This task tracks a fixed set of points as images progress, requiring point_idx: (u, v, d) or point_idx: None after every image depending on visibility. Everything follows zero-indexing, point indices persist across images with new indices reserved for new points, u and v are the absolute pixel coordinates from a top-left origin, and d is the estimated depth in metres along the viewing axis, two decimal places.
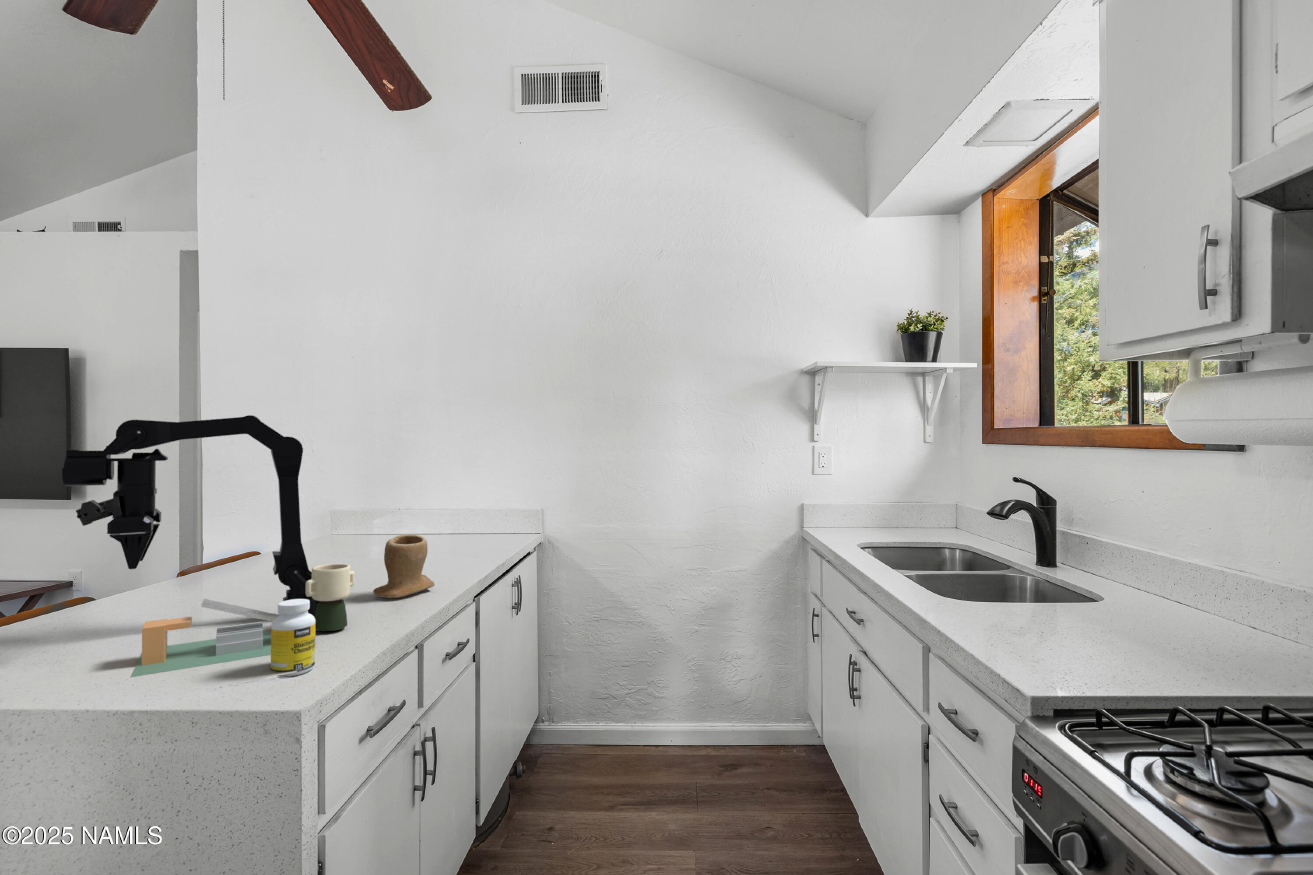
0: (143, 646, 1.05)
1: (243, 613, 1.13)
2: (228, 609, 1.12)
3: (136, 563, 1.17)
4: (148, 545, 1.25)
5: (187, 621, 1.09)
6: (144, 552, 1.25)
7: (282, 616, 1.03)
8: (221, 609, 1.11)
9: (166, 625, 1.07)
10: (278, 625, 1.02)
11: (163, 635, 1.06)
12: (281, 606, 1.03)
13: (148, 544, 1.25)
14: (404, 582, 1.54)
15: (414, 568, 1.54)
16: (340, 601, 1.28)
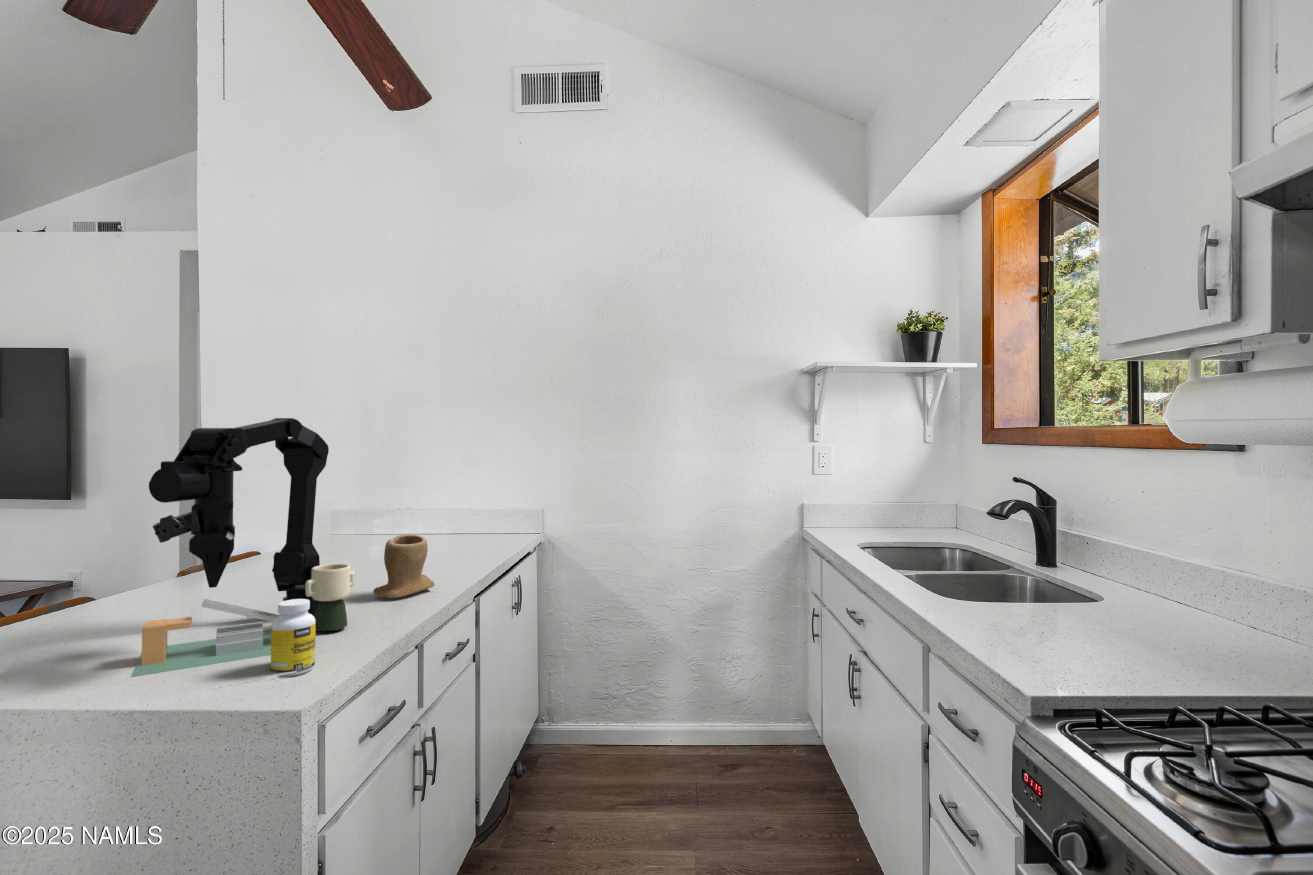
0: (143, 646, 1.05)
1: (243, 613, 1.13)
2: (228, 609, 1.12)
3: (217, 581, 1.10)
4: None
5: (187, 621, 1.09)
6: None
7: (282, 616, 1.03)
8: (221, 609, 1.11)
9: (166, 625, 1.07)
10: (278, 625, 1.02)
11: (163, 635, 1.06)
12: (281, 606, 1.03)
13: None
14: (404, 582, 1.54)
15: (414, 569, 1.54)
16: (340, 601, 1.28)
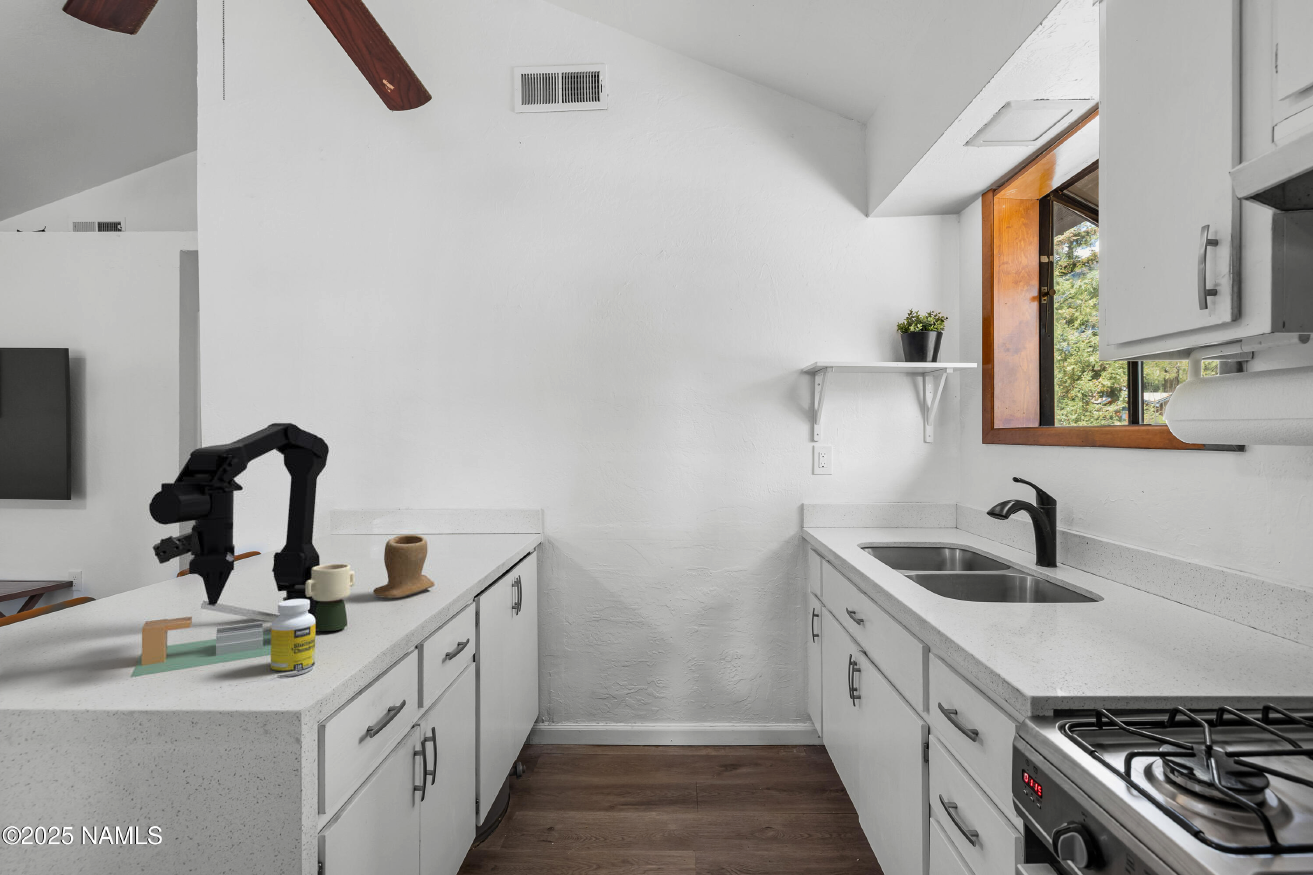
0: (143, 646, 1.05)
1: (243, 614, 1.13)
2: (227, 610, 1.12)
3: (217, 598, 1.12)
4: None
5: (187, 621, 1.09)
6: None
7: (282, 616, 1.03)
8: (220, 610, 1.11)
9: (166, 625, 1.07)
10: (278, 625, 1.02)
11: (163, 635, 1.06)
12: (281, 606, 1.03)
13: None
14: (404, 582, 1.54)
15: (414, 568, 1.54)
16: (340, 601, 1.28)
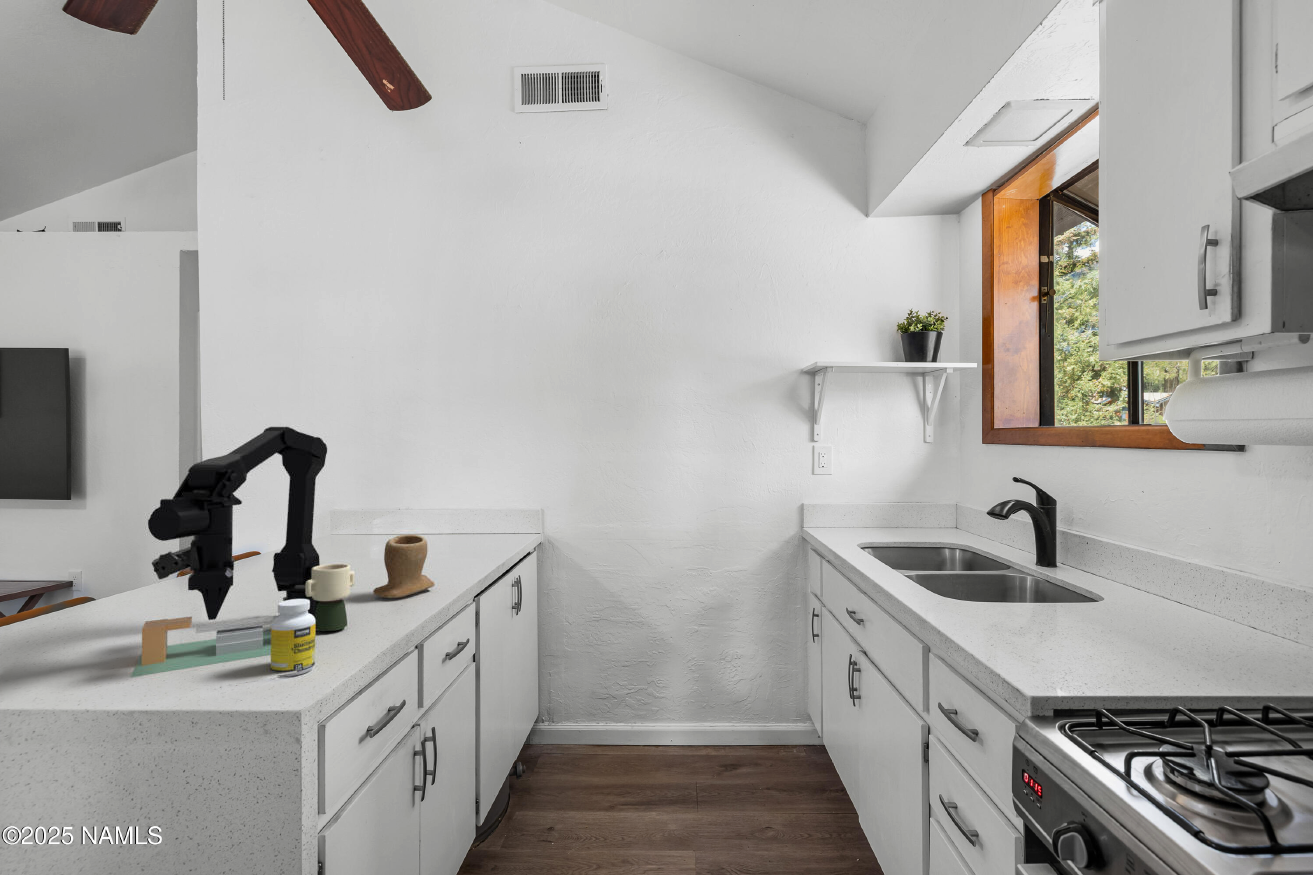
0: (143, 646, 1.05)
1: (240, 626, 1.13)
2: (223, 627, 1.12)
3: (216, 613, 1.12)
4: None
5: (187, 621, 1.09)
6: None
7: (282, 616, 1.03)
8: (216, 629, 1.11)
9: (166, 625, 1.07)
10: (278, 625, 1.02)
11: (163, 635, 1.06)
12: (281, 606, 1.03)
13: None
14: (404, 582, 1.54)
15: (414, 569, 1.54)
16: (340, 601, 1.28)
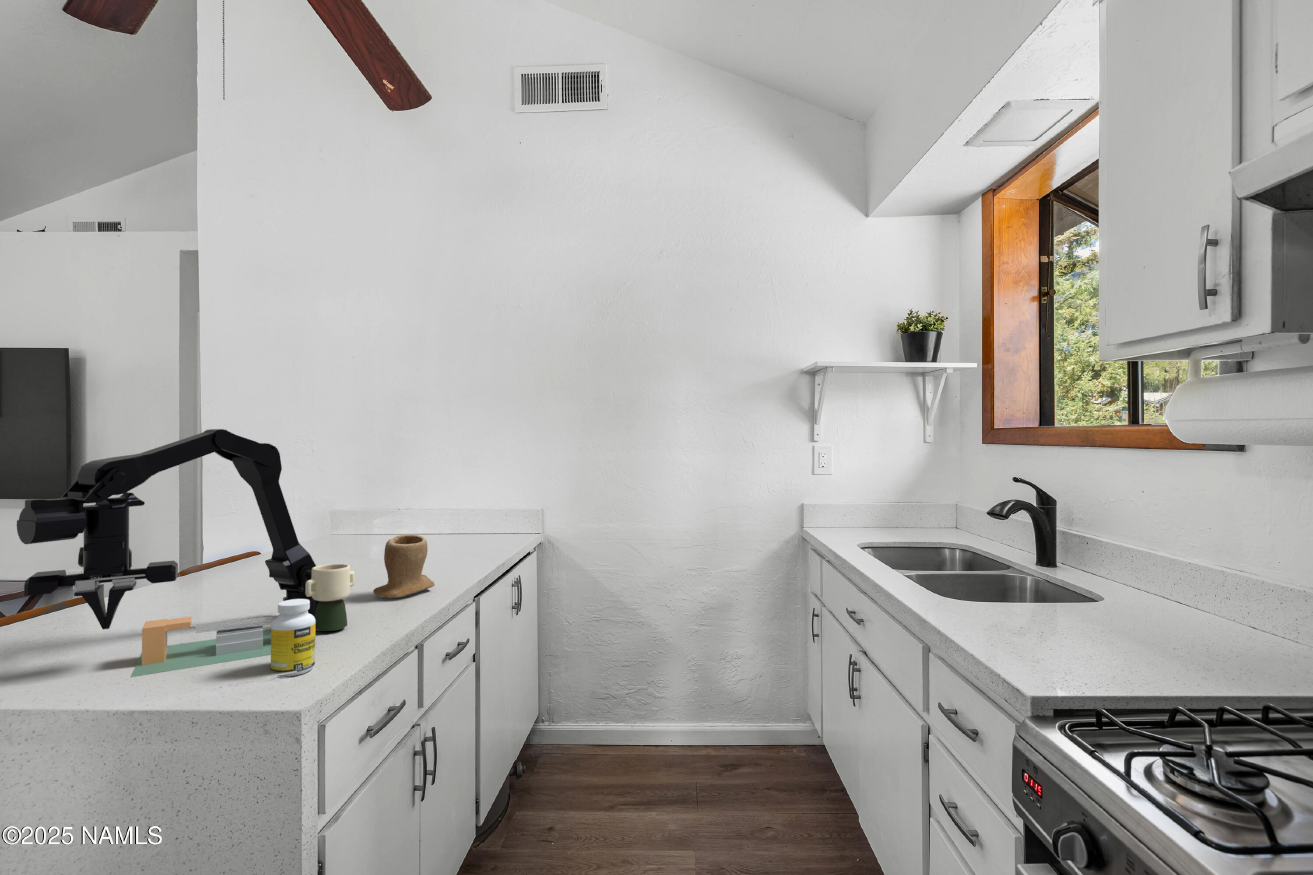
0: (143, 646, 1.05)
1: (240, 626, 1.13)
2: (223, 627, 1.12)
3: None
4: (106, 612, 1.03)
5: (187, 621, 1.09)
6: (105, 619, 1.03)
7: (282, 616, 1.03)
8: (216, 629, 1.11)
9: (166, 625, 1.07)
10: (278, 625, 1.02)
11: (163, 635, 1.06)
12: (281, 606, 1.03)
13: None
14: (404, 582, 1.54)
15: (414, 568, 1.54)
16: (340, 601, 1.28)
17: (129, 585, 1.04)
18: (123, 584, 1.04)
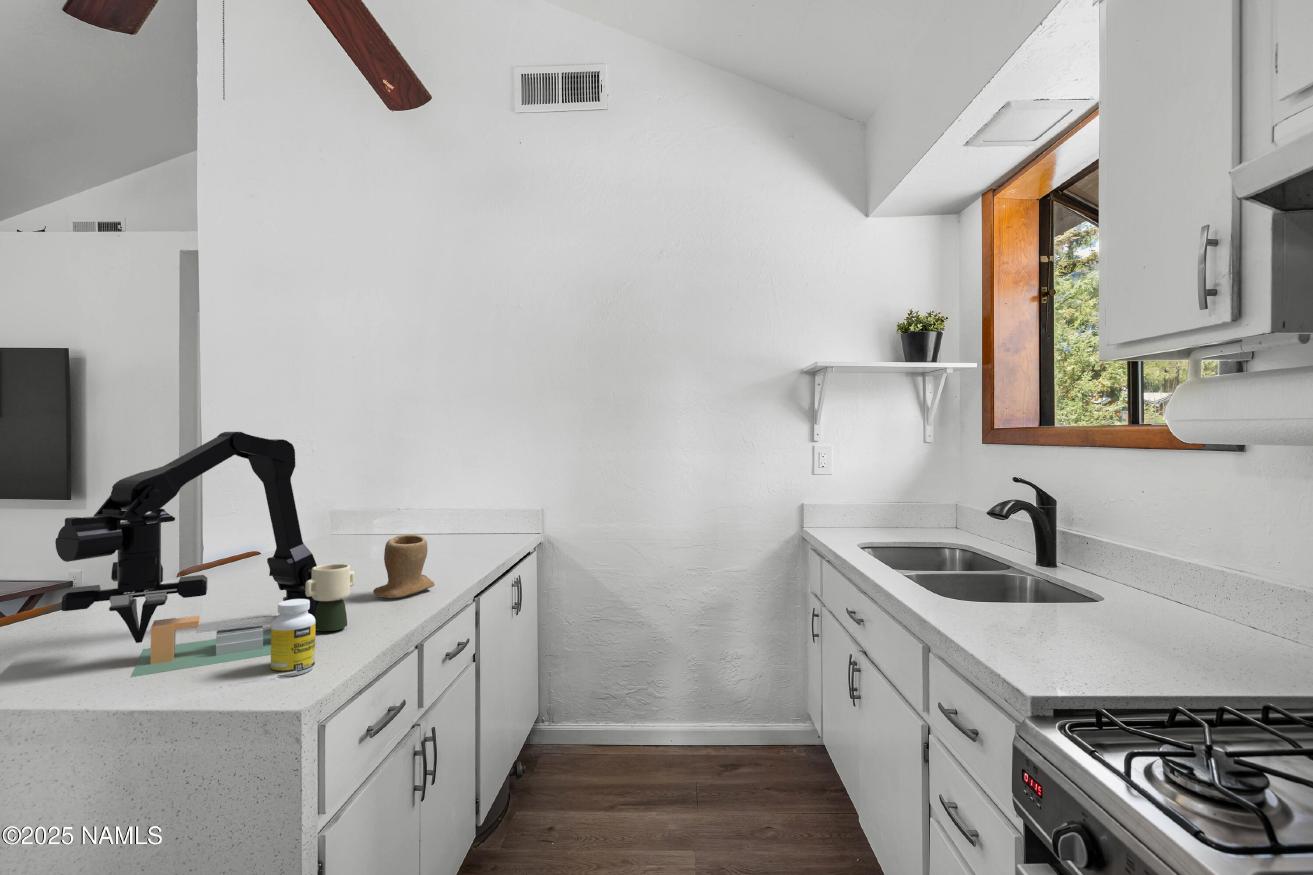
0: (152, 645, 1.05)
1: (240, 626, 1.13)
2: (223, 627, 1.12)
3: None
4: None
5: (195, 620, 1.09)
6: None
7: (282, 616, 1.03)
8: (216, 629, 1.11)
9: (174, 624, 1.07)
10: (278, 625, 1.02)
11: (171, 634, 1.07)
12: (281, 606, 1.03)
13: None
14: (404, 582, 1.54)
15: (414, 568, 1.54)
16: (340, 601, 1.28)
17: (161, 600, 1.07)
18: (156, 599, 1.06)
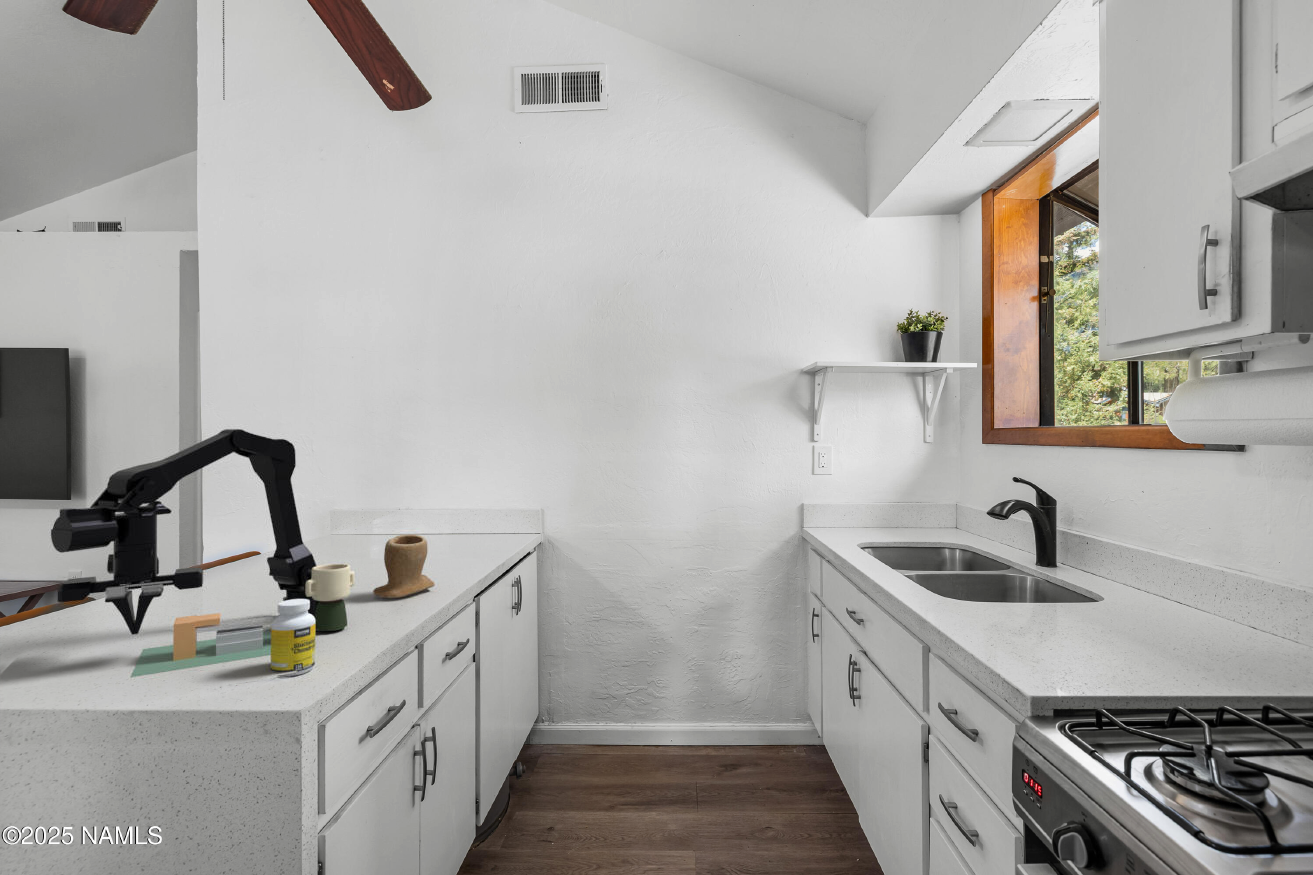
0: (174, 642, 1.07)
1: (240, 626, 1.13)
2: (223, 627, 1.12)
3: None
4: (136, 618, 1.06)
5: (216, 617, 1.11)
6: (135, 625, 1.06)
7: (282, 616, 1.03)
8: (216, 629, 1.11)
9: (196, 621, 1.09)
10: (278, 625, 1.02)
11: (194, 631, 1.08)
12: (281, 606, 1.03)
13: (136, 617, 1.06)
14: (404, 582, 1.54)
15: (414, 569, 1.54)
16: (340, 601, 1.28)
17: (157, 591, 1.07)
18: (152, 590, 1.07)
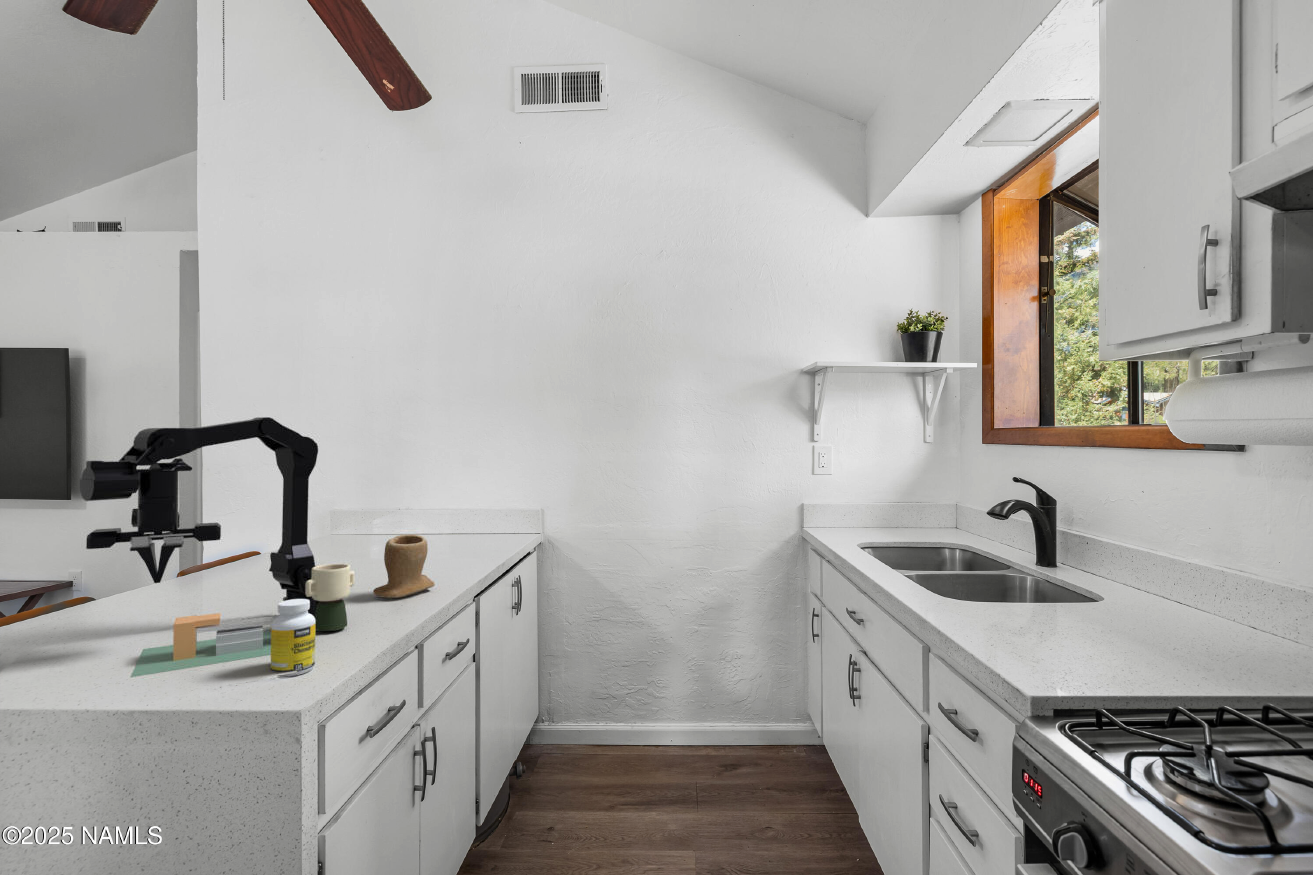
0: (174, 642, 1.07)
1: (240, 626, 1.13)
2: (223, 627, 1.12)
3: (152, 577, 1.12)
4: (158, 567, 1.12)
5: (216, 617, 1.11)
6: None
7: (282, 616, 1.03)
8: (216, 629, 1.11)
9: (196, 621, 1.09)
10: (278, 625, 1.02)
11: (194, 631, 1.08)
12: (281, 606, 1.03)
13: (158, 566, 1.12)
14: (404, 582, 1.54)
15: (414, 568, 1.54)
16: (340, 601, 1.28)
17: (178, 543, 1.14)
18: (173, 542, 1.13)
